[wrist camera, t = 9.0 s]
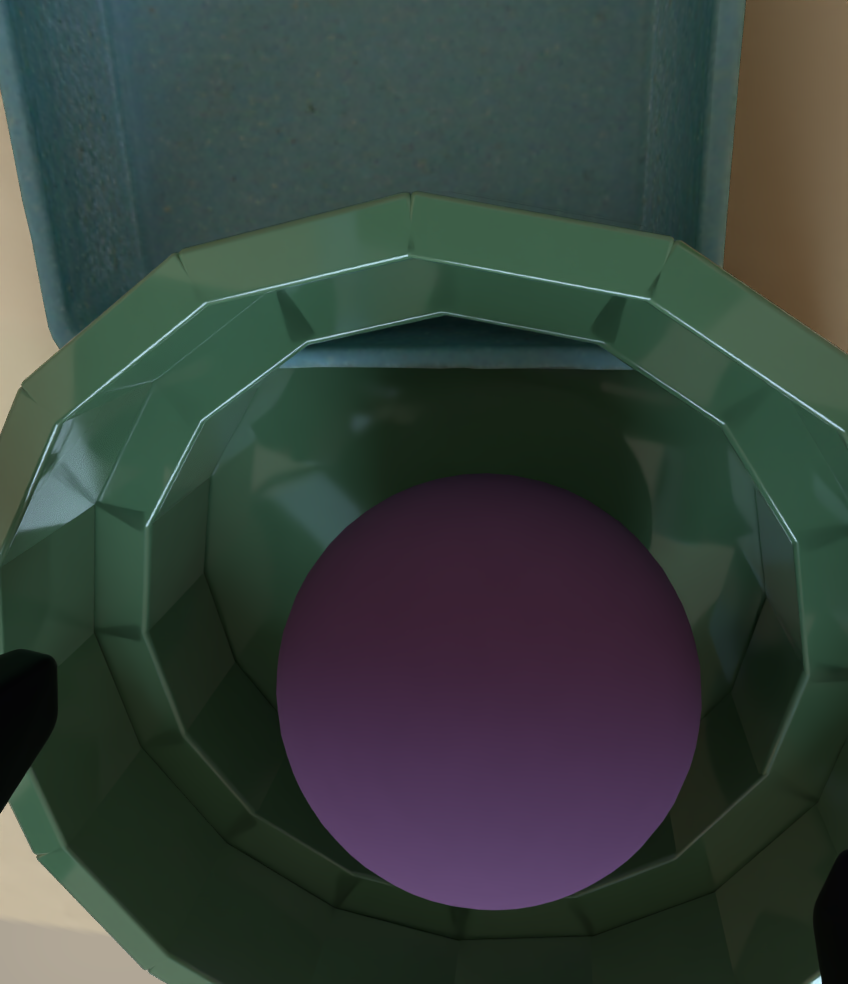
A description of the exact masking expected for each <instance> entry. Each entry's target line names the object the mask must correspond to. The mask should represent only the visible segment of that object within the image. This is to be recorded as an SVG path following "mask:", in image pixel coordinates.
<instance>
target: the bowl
mask: <svg viewBox="0 0 848 984" xmlns="http://www.w3.org/2000/svg"><path fill="white" fill-rule="evenodd" d="M442 316H451V317H456V318H461V319H467V320H472V321H477V322H482V323H488V324H493V325H498V326H503V327H508V328H514V329H519V330H524V331H529V332H534V333H540V334H545V335H550V336H555V337H561V338H566V339H571V340H576V341H581V342H587V343H592V344H596V345H598V346H599V347H601V348H602V349H604V350H605V351H607V352H608V353H610V354H611V355H613V356H614V357H616V358H617V359H619V360H620V361H622V362H623V363H625V364H626V365H628V366H629V367H631V368H632V369H634V370H585V369H512V368H506V369H472V368H443V369H438V368H386V367H307V368H280V367H281V366H283V365H284V364H285V363H287V362H288V361H289V360H291V359H292V358H293V357H295V356H296V355H297V354H299V353H300V352H302V351H303V350H304V349H306V348H307V347H308V346H310V345H312V344H317V343H322V342H326V341H331V340H336V339H340V338H345V337H350V336H354V335H359V334H363V333H368V332H373V331H377V330H382V329H387V328H391V327H396V326H401V325H405V324H410V323H414V322H419V321H424V320H428V319H433V318H438V317H442ZM21 386H22V387H20V388H19V390H18V391H17V394H16V396H15V399H14V401H13V404H12V406H11V409H10V411H9V414H8V416H7V419H6V421H5V424H4V426H3V429H2V431H1V434H0V655H1V654H4V653H7V652H10V651H13V650H16V649H27V650H31V651H36V652H40V653H44V654H48V655H50V656H52V657H53V658H54V659H55V661H56V663H57V673H58V716H57V721H56V724H55V727H54V729H53V731H52V733H51V735H50V737H49V738H48V740H47V741H46V743H45V745H44V746H43V748H42V749H41V751H40V752H39V754H38V756H37V757H36V759H35V760H34V762H33V763H32V765H31V767H30V768H29V770H28V771H27V773H26V774H25V776H24V777H23V779H22V781H21V782H20V784H19V785H18V787H17V788H16V790H15V792H14V793H13V795H12V796H11V798H10V799H9V801H8V802H9V804H10V806H11V808H12V810H13V812H14V814H15V816H16V818H17V820H18V823H19V825H20V827H21V829H22V831H23V833H24V835H25V837H26V839H27V841H28V843H29V845H30V847H31V849H32V851H33V853H34V854H36V855H37V856H36V858H37V860H38V861H39V862H40V863H41V864H42V865H43V866H44V867H45V868H46V869H47V870H48V871H49V872H50V873H51V874H52V875H53V876H54V877H55V878H56V879H57V880H58V881H59V883H60V884H61V885H62V886H63V887H64V888H65V889H66V890H67V891H68V892H69V893H70V894H71V895H72V896H73V897H74V898H75V899H76V900H77V901H78V902H79V903H80V904H81V905H82V906H83V907H84V908H85V910H86V911H87V912H88V913H89V914H90V915H91V916H92V917H93V918H94V919H95V920H96V921H97V922H98V923H99V924H100V925H101V926H102V927H103V928H104V929H105V930H106V931H107V932H108V933H109V934H110V935H111V936H112V938H113V939H114V940H115V941H117V943H118V944H119V945H120V946H121V947H122V948H123V949H124V950H125V951H126V952H127V953H128V954H129V955H130V956H131V957H132V958H133V959H134V960H135V961H136V962H137V963H138V964H139V965H140V967H141V968H142V969H144V970H148V972H149V973H150V974H151V975H153V976H155V977H156V978H158V979H160V980H161V981H163V982H165V983H167V984H822V981H821V975H820V968H819V962H818V955H817V949H816V942H815V936H814V929H813V910H814V906H815V902H816V900H817V897H818V895H819V893H820V891H821V889H822V887H823V885H824V883H825V881H826V879H827V877H828V875H829V872H830V870H831V868H832V866H833V864H834V862H835V860H836V858H837V857H838V855H839V854H840V853H841V852H842V851H844V850H848V354H847V353H846V352H844V351H843V350H841V349H840V348H838V347H837V346H835V345H834V344H832V343H831V342H830V341H828V340H827V339H825V338H824V337H822V336H821V335H819V334H818V333H816V332H815V331H813V330H812V329H811V328H809V327H808V326H806V325H805V324H803V323H802V322H800V321H799V320H797V319H796V318H794V317H793V316H792V315H790V314H789V313H787V312H786V311H784V310H783V309H781V308H780V307H778V306H777V305H775V304H774V303H773V302H771V301H770V300H768V299H767V298H765V297H764V296H762V295H761V294H759V293H758V292H756V291H755V290H754V289H752V288H751V287H749V286H748V285H746V284H745V283H743V282H742V281H740V280H739V279H737V278H736V277H735V276H733V275H732V274H730V273H729V272H727V271H726V270H724V269H723V268H721V267H720V266H718V265H717V264H716V263H714V262H713V261H711V260H710V259H708V258H707V257H705V256H704V255H702V254H701V253H699V252H698V251H697V250H695V249H694V248H692V247H691V246H689V245H688V244H686V243H685V242H683V241H682V240H679V239H677V238H674V237H671V236H670V235H667V234H665V233H662V232H659V231H657V230H654V229H651V228H649V227H646V226H643V225H640V224H638V223H635V222H632V221H629V220H623V219H618V218H612V217H606V216H601V215H595V214H589V213H584V212H578V211H572V210H567V209H561V208H555V207H550V206H544V205H538V204H533V203H527V202H521V201H516V200H510V199H504V198H499V197H493V196H487V195H482V194H476V193H470V192H452V191H449V192H448V191H414V192H408V191H404V192H400V193H396V194H392V195H388V196H384V197H380V198H376V199H373V200H369V201H365V202H361V203H357V204H353V205H349V206H345V207H341V208H337V209H333V210H329V211H326V212H322V213H318V214H314V215H310V216H306V217H302V218H298V219H294V220H290V221H286V222H282V223H279V224H275V225H271V226H267V227H263V228H259V229H255V230H251V231H247V232H243V233H239V234H235V235H232V236H228V237H224V238H220V239H216V240H212V241H208V242H204V243H200V244H196V245H192V246H188V247H185V248H183V249H182V250H180V251H179V252H174V253H172V254H171V255H169V256H168V257H167V258H166V259H165V260H164V261H162V262H161V263H160V264H159V265H158V266H157V267H155V268H154V269H153V270H152V271H151V272H150V273H148V274H147V275H146V276H145V277H144V278H143V279H141V280H140V281H139V282H138V283H137V284H136V285H134V286H133V287H132V288H131V289H130V290H129V291H127V292H126V293H125V294H124V295H123V296H122V297H120V298H119V299H118V300H117V301H116V302H115V303H113V304H112V305H111V306H110V307H109V308H108V309H106V310H105V311H104V312H103V313H102V314H101V315H99V316H98V317H97V318H96V319H95V320H94V321H92V322H91V323H90V324H89V325H88V326H87V327H85V328H84V329H83V330H82V331H81V332H80V333H78V334H77V335H76V336H75V337H74V338H73V339H71V340H70V341H69V342H68V343H67V344H66V345H64V346H63V347H62V348H61V349H60V350H59V351H57V352H56V353H55V354H54V355H53V356H52V357H50V358H49V359H48V360H47V361H46V362H45V363H43V364H42V365H41V366H40V367H39V368H38V369H36V370H35V371H34V372H33V373H32V374H31V375H29V376H28V377H27V378H26V379H25V380H24V381H23V382H22V384H21ZM483 473H490V474H503V475H514V476H518V477H523V478H528V479H533V480H538V481H542V482H545V483H548V484H551V485H554V486H557V487H560V488H563V489H566V490H568V491H570V492H572V493H574V494H576V495H578V496H580V497H582V498H584V499H586V500H588V501H590V502H591V503H593V504H594V505H596V506H597V507H599V508H600V509H602V510H603V511H605V512H606V513H608V514H609V515H611V516H612V517H613V518H615V519H616V520H618V521H619V522H621V523H622V524H623V525H624V526H625V527H626V528H627V529H628V530H629V531H630V532H631V533H632V534H634V535H635V536H636V537H637V538H638V539H639V540H640V542H641V543H642V544H643V545H644V546H645V547H646V548H647V550H648V551H649V552H650V553H651V555H652V556H653V557H654V558H655V560H656V561H657V562H658V563H659V565H660V566H661V567H662V568H663V570H664V572H665V573H666V575H667V577H668V579H669V580H670V582H671V584H672V586H673V587H674V589H675V591H676V593H677V595H678V597H679V599H680V601H681V602H682V604H683V607H684V610H685V612H686V615H687V618H688V620H689V623H690V626H691V629H692V632H693V636H694V640H695V644H696V649H697V654H698V659H699V664H700V675H701V701H702V710H701V718H700V726H699V733H698V738H697V744H696V749H695V752H694V756H693V759H692V763H691V766H690V769H689V771H688V774H687V776H686V778H685V780H684V783H683V785H682V787H681V789H680V792H679V794H678V796H677V798H676V800H675V803H674V804H673V806H672V808H671V809H670V811H669V812H668V814H667V816H666V817H665V819H664V820H663V822H662V823H661V824H660V825H659V826H658V828H657V829H656V830H655V831H654V833H653V834H652V835H651V836H650V837H649V839H648V840H647V841H646V842H645V843H644V845H643V846H642V847H641V848H640V849H639V850H638V851H637V852H636V853H635V854H634V855H633V856H632V857H631V858H630V859H629V860H627V861H626V862H625V863H624V864H622V865H621V866H620V867H618V868H617V869H616V870H614V871H613V872H612V873H610V874H609V875H607V876H605V877H604V878H602V879H600V880H599V881H597V882H595V883H594V884H592V885H590V886H588V887H586V888H584V889H582V890H580V891H578V892H576V893H574V894H571V895H569V896H566V897H564V898H561V899H558V900H555V901H552V902H549V903H545V904H541V905H537V906H532V907H525V908H519V909H508V910H478V909H471V908H463V907H456V906H451V905H446V904H442V903H438V902H434V901H430V900H427V899H425V898H422V897H419V896H416V895H413V894H411V893H409V892H407V891H405V890H403V889H401V888H399V887H397V886H395V885H393V884H391V883H390V882H388V881H386V880H385V879H383V878H381V877H380V876H378V875H377V874H375V873H374V872H372V871H370V870H369V869H367V868H366V867H365V866H363V865H362V864H361V863H360V862H359V861H357V860H356V859H355V858H354V857H353V856H351V855H350V854H349V853H348V852H347V851H346V850H345V849H344V848H343V847H342V846H341V845H340V844H339V843H338V841H337V840H336V839H335V838H334V837H333V836H332V835H331V834H330V833H329V832H328V830H327V829H326V828H325V827H324V826H323V824H322V823H321V821H320V820H319V819H318V817H317V816H316V814H315V813H314V811H313V810H312V808H311V806H310V805H309V803H308V801H307V800H306V798H305V796H304V795H303V793H302V791H301V789H300V787H299V785H298V783H297V780H296V778H295V776H294V774H293V771H292V768H291V765H290V762H289V759H288V756H287V753H286V750H285V746H284V743H283V740H282V736H281V730H280V722H279V715H278V706H277V697H276V687H277V667H278V658H279V651H280V646H281V641H282V636H283V631H284V628H285V625H286V623H287V620H288V617H289V614H290V611H291V609H292V606H293V603H294V600H295V597H296V595H297V593H298V591H299V589H300V587H301V586H302V584H303V582H304V580H305V578H306V576H307V574H308V573H309V571H310V570H311V569H312V567H313V566H314V564H315V563H316V562H317V560H318V559H319V557H320V556H321V555H322V553H323V552H324V551H325V549H326V548H327V547H328V545H329V544H330V543H331V542H332V541H333V540H334V539H335V538H336V537H337V536H338V535H339V534H340V533H341V532H342V531H343V530H344V529H345V528H346V527H347V526H348V525H349V524H351V523H352V522H353V521H355V520H356V519H357V518H358V517H360V516H361V515H362V514H363V513H365V512H366V511H368V510H369V509H370V508H372V507H374V506H375V505H377V504H379V503H380V502H382V501H384V500H385V499H387V498H389V497H390V496H392V495H394V494H397V493H399V492H401V491H404V490H406V489H408V488H410V487H413V486H415V485H418V484H422V483H425V482H429V481H432V480H435V479H439V478H445V477H451V476H456V475H462V474H483Z"/></svg>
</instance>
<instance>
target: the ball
mask: <svg viewBox="0 0 848 984" xmlns="http://www.w3.org/2000/svg"><path fill="white" fill-rule="evenodd" d="M276 697H277V706H278V715H279V722H280V730H281V736H282V740H283V743H284V746H285V750H286V753H287V756H288V759H289V762H290V765H291V768H292V771H293V774H294V776H295V778H296V780H297V783H298V785H299V787H300V789H301V791H302V793H303V795H304V796H305V798H306V800H307V801H308V803H309V805H310V806H311V808H312V810H313V811H314V813H315V814H316V816H317V817H318V819H319V820H320V821H321V823H322V824H323V826H324V827H325V828H326V829H327V830H328V832H329V833H330V834H331V835H332V836H333V837H334V838H335V839H336V840H337V841H338V843H339V844H340V845H341V846H342V847H343V848H344V849H345V850H346V851H347V852H348V853H349V854H350V855H351V856H353V857H354V858H355V859H356V860H357V861H359V862H360V863H361V864H362V865H363V866H365V867H366V868H367V869H369V870H370V871H372V872H374V873H375V874H377V875H378V876H380V877H381V878H383V879H385V880H386V881H388V882H390V883H391V884H393V885H395V886H397V887H399V888H401V889H403V890H405V891H407V892H409V893H411V894H413V895H416V896H419V897H422V898H425V899H427V900H430V901H434V902H438V903H442V904H446V905H451V906H456V907H463V908H471V909H478V910H508V909H519V908H525V907H532V906H537V905H541V904H545V903H549V902H552V901H555V900H558V899H561V898H564V897H566V896H569V895H571V894H574V893H576V892H578V891H580V890H582V889H584V888H586V887H588V886H590V885H592V884H594V883H595V882H597V881H599V880H600V879H602V878H604V877H605V876H607V875H609V874H610V873H612V872H613V871H614V870H616V869H617V868H618V867H620V866H621V865H622V864H624V863H625V862H626V861H627V860H629V859H630V858H631V857H632V856H633V855H634V854H635V853H636V852H637V851H638V850H639V849H640V848H641V847H642V846H643V845H644V843H645V842H646V841H647V840H648V839H649V837H650V836H651V835H652V834H653V833H654V831H655V830H656V829H657V828H658V826H659V825H660V824H661V823H662V822H663V820H664V819H665V817H666V816H667V814H668V812H669V811H670V809H671V808H672V806H673V804H674V803H675V800H676V798H677V796H678V794H679V792H680V789H681V787H682V785H683V783H684V780H685V778H686V776H687V774H688V771H689V769H690V766H691V763H692V759H693V756H694V752H695V749H696V744H697V738H698V733H699V726H700V718H701V710H702V701H701V675H700V664H699V659H698V654H697V649H696V644H695V640H694V636H693V632H692V629H691V626H690V623H689V620H688V618H687V615H686V612H685V610H684V607H683V604H682V602H681V601H680V599H679V597H678V595H677V593H676V591H675V589H674V587H673V586H672V584H671V582H670V580H669V579H668V577H667V575H666V573H665V572H664V570H663V568H662V567H661V566H660V565H659V563H658V562H657V561H656V560H655V558H654V557H653V556H652V555H651V553H650V552H649V551H648V550H647V548H646V547H645V546H644V545H643V544H642V543H641V542H640V540H639V539H638V538H637V537H636V536H635V535H634V534H632V533H631V532H630V531H629V530H628V529H627V528H626V527H625V526H624V525H623V524H622V523H621V522H619V521H618V520H616V519H615V518H613V517H612V516H611V515H609V514H608V513H606V512H605V511H603V510H602V509H600V508H599V507H597V506H596V505H594V504H593V503H591V502H590V501H588V500H586V499H584V498H582V497H580V496H578V495H576V494H574V493H572V492H570V491H568V490H566V489H563V488H560V487H557V486H554V485H551V484H548V483H545V482H542V481H538V480H533V479H528V478H523V477H518V476H514V475H503V474H490V473H483V474H462V475H456V476H451V477H445V478H439V479H435V480H432V481H429V482H425V483H422V484H418V485H415V486H413V487H410V488H408V489H406V490H404V491H401V492H399V493H397V494H394V495H392V496H390V497H389V498H387V499H385V500H384V501H382V502H380V503H379V504H377V505H375V506H374V507H372V508H370V509H369V510H368V511H366V512H365V513H363V514H362V515H361V516H360V517H358V518H357V519H356V520H355V521H353V522H352V523H351V524H349V525H348V526H347V527H346V528H345V529H344V530H343V531H342V532H341V533H340V534H339V535H338V536H337V537H336V538H335V539H334V540H333V541H332V542H331V543H330V544H329V545H328V547H327V548H326V549H325V551H324V552H323V553H322V555H321V556H320V557H319V559H318V560H317V562H316V563H315V564H314V566H313V567H312V569H311V570H310V571H309V573H308V574H307V576H306V578H305V580H304V582H303V584H302V586H301V587H300V589H299V591H298V593H297V595H296V597H295V600H294V603H293V606H292V609H291V611H290V614H289V617H288V620H287V623H286V625H285V628H284V631H283V636H282V641H281V646H280V651H279V658H278V667H277V687H276Z"/></svg>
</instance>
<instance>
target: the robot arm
mask: <svg viewBox="0 0 848 984" xmlns="http://www.w3.org/2000/svg"><path fill="white" fill-rule="evenodd" d="M57 716H58V673H57V663H56V661H55V659H54V658H53V657H52V656H50V655H48V654H44V653H40V652H36V651H31V650H27V649H16V650H13V651H10V652H7V653H4V654H1V655H0V813H1V812H2V810H3V809H4V807H5V806H6V804H7V803H8V801H9V799H10V798H11V796H12V795H13V793H14V792H15V790H16V788H17V787H18V785H19V784H20V782H21V781H22V779H23V777H24V776H25V774H26V773H27V771H28V770H29V768H30V767H31V765H32V763H33V762H34V760H35V759H36V757H37V756H38V754H39V752H40V751H41V749H42V748H43V746H44V745H45V743H46V741H47V740H48V738H49V737H50V735H51V733H52V731H53V729H54V727H55V724H56V721H57ZM813 929H814V936H815V942H816V949H817V955H818V962H819V968H820V975H821V981H822V984H848V850H844V851H842V852H841V853H840V854H839V855H838V857H837V858H836V860H835V862H834V864H833V866H832V868H831V870H830V872H829V875H828V877H827V879H826V881H825V883H824V885H823V887H822V889H821V891H820V893H819V895H818V897H817V900H816V902H815V906H814V910H813Z"/></svg>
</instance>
